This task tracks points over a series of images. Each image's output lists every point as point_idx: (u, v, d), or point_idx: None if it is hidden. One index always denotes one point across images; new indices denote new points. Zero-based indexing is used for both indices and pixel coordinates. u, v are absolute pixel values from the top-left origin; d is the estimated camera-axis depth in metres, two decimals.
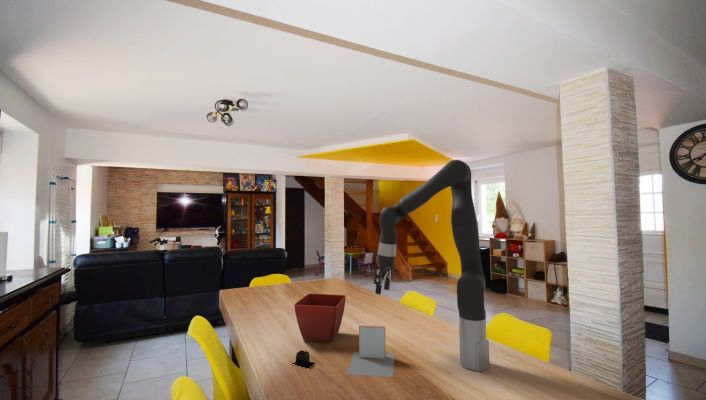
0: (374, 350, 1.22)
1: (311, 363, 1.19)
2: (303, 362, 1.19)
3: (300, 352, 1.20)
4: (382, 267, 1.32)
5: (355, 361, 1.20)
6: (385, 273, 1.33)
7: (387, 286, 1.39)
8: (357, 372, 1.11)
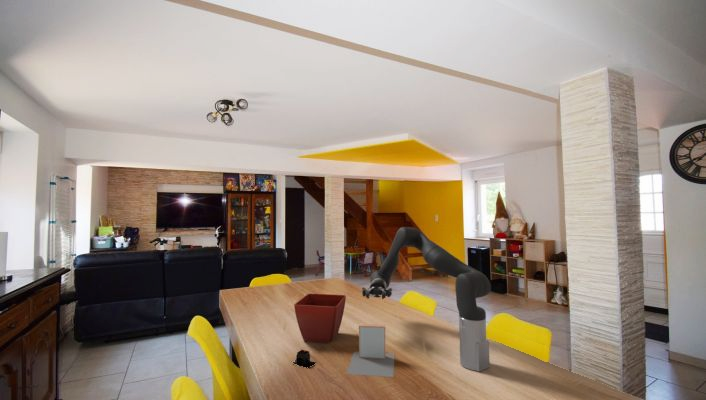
0: (374, 350, 1.22)
1: (311, 363, 1.20)
2: (303, 361, 1.20)
3: (301, 351, 1.21)
4: (369, 288, 1.49)
5: (355, 361, 1.20)
6: (372, 288, 1.46)
7: (382, 294, 1.38)
8: (357, 372, 1.11)
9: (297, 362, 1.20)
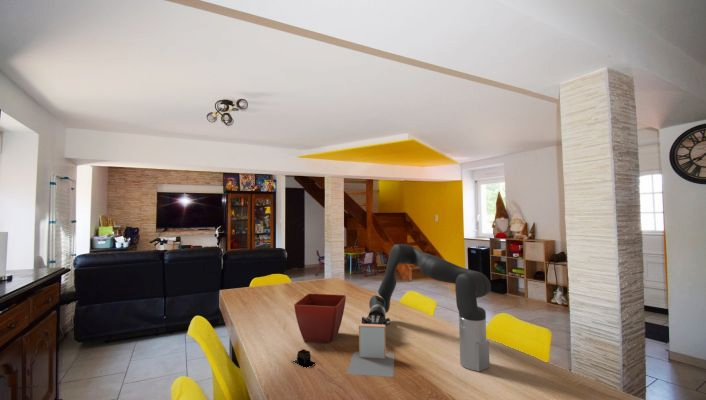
0: (374, 350, 1.22)
1: (311, 363, 1.19)
2: None
3: (301, 351, 1.21)
4: (368, 317, 1.45)
5: (355, 361, 1.20)
6: (371, 317, 1.42)
7: None
8: (357, 372, 1.11)
9: (298, 361, 1.20)
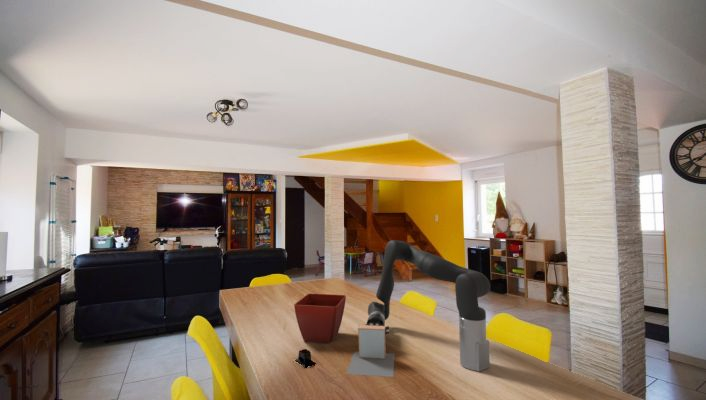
0: (374, 351, 1.21)
1: (311, 363, 1.19)
2: None
3: (302, 350, 1.22)
4: (366, 324, 1.36)
5: (355, 361, 1.20)
6: (370, 325, 1.33)
7: None
8: (357, 372, 1.11)
9: (299, 360, 1.21)
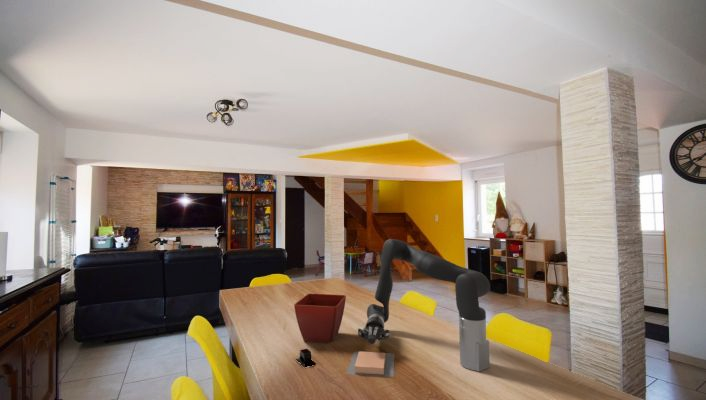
0: None
1: (311, 363, 1.19)
2: None
3: (303, 350, 1.22)
4: (365, 328, 1.32)
5: (355, 361, 1.20)
6: (369, 328, 1.29)
7: None
8: None
9: (300, 360, 1.22)
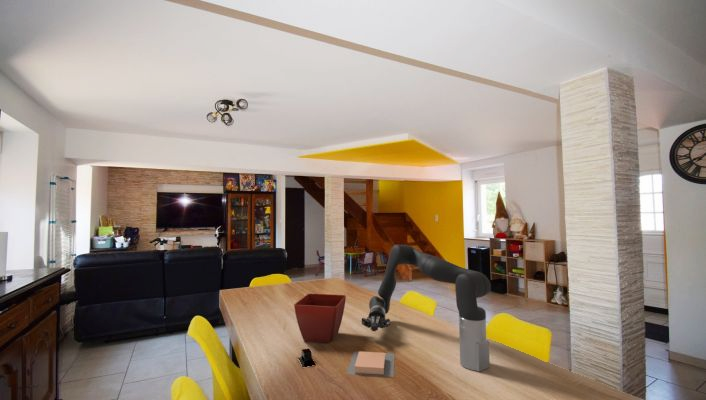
0: None
1: (311, 364, 1.19)
2: None
3: (305, 350, 1.22)
4: None
5: (355, 361, 1.20)
6: (371, 317, 1.42)
7: None
8: None
9: (301, 359, 1.22)
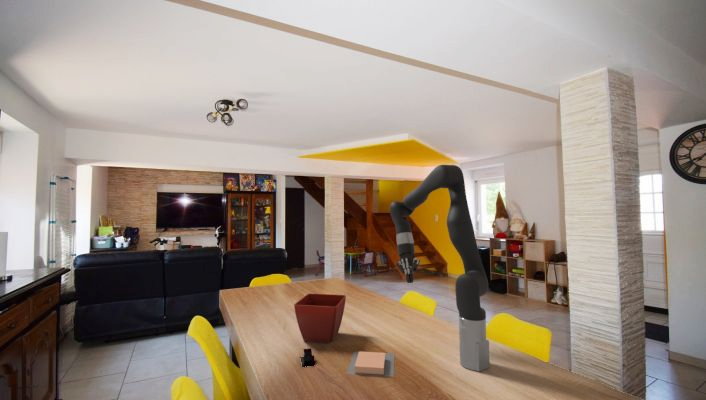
0: None
1: (310, 364, 1.19)
2: None
3: (306, 349, 1.22)
4: None
5: (355, 361, 1.20)
6: None
7: None
8: None
9: (303, 358, 1.23)
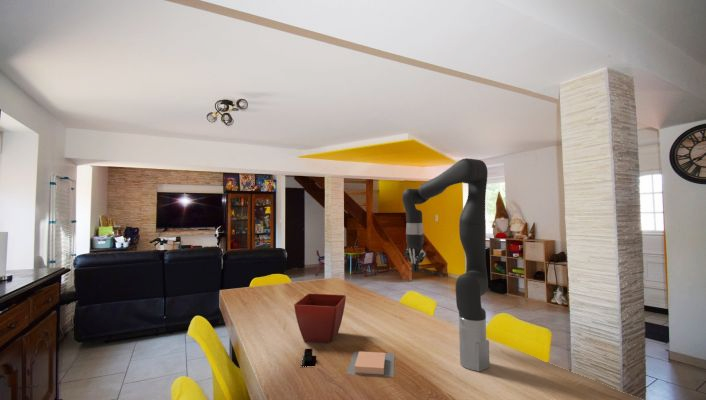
0: None
1: (310, 364, 1.19)
2: None
3: (307, 349, 1.23)
4: None
5: (355, 361, 1.20)
6: None
7: None
8: None
9: None
